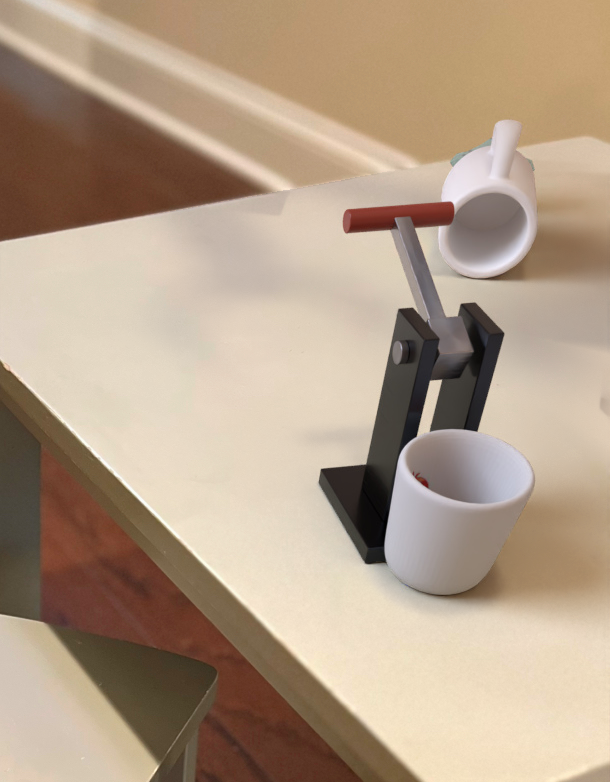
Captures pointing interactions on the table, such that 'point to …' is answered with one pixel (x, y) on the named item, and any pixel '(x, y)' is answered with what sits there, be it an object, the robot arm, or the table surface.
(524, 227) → the mug
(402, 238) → the lever
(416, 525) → the cup
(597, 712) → the table surface
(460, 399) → the bracket
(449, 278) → the table surface
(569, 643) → the table surface
